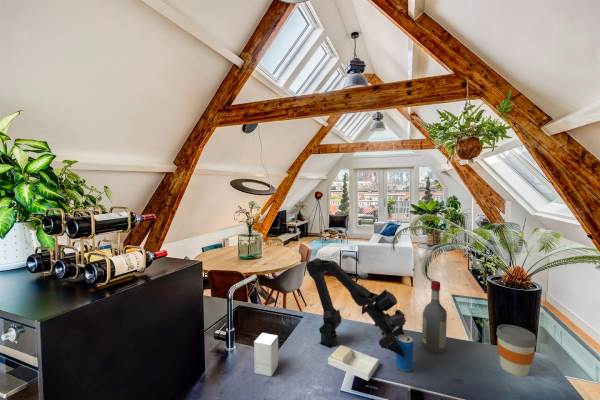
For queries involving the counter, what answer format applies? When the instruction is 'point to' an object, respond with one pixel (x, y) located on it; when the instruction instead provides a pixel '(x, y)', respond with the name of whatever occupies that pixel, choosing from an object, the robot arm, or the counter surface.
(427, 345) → the liquor
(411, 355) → the beverage can
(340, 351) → the beige rectangular block
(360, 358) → the white rectangular tray
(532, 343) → the reusable coffee cup
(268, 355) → the supplement box
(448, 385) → the counter surface
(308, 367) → the counter surface
